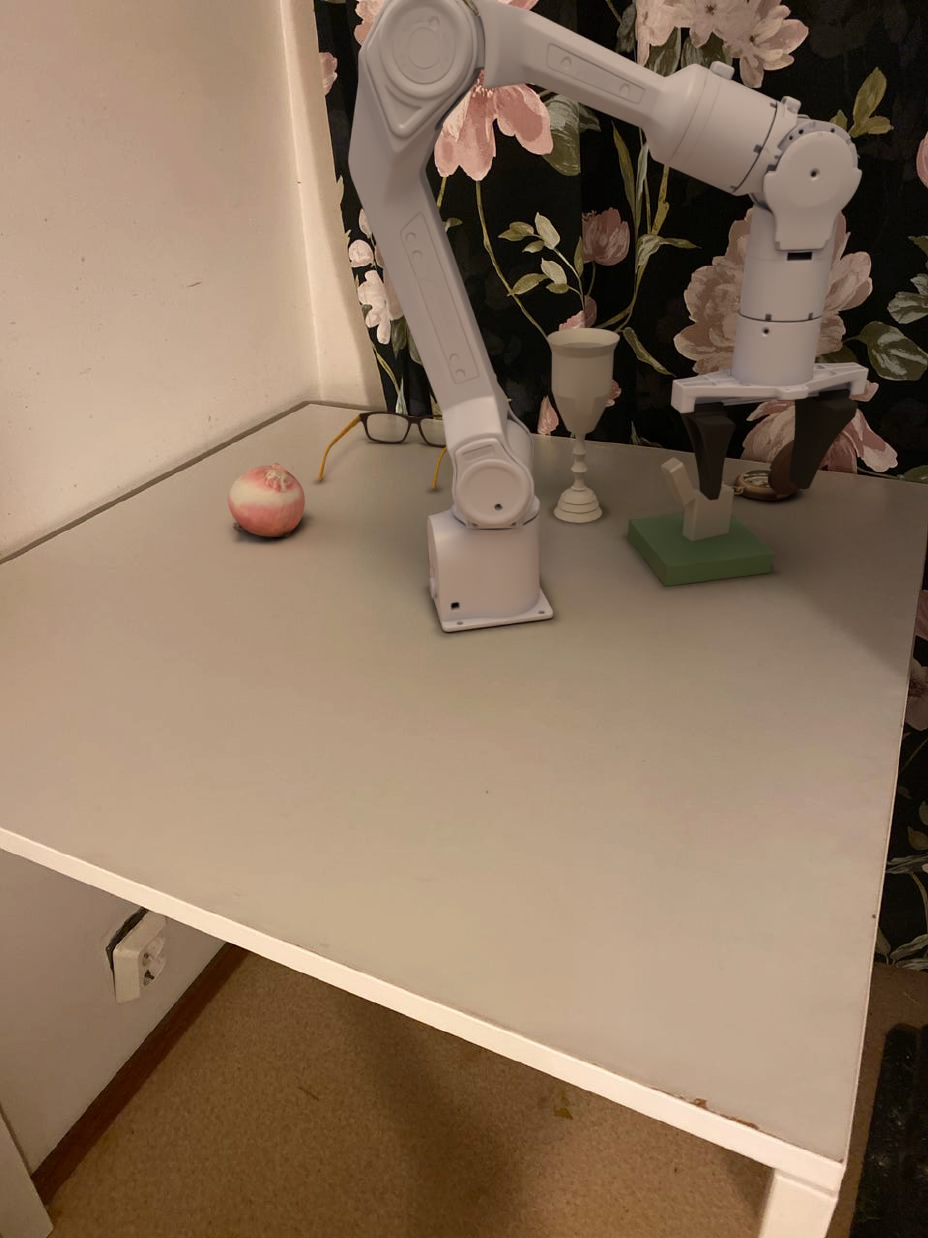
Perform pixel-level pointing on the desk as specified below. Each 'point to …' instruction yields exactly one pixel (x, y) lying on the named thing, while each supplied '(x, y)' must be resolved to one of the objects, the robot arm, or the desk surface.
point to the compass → (769, 479)
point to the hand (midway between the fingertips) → (754, 489)
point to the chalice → (581, 404)
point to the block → (697, 551)
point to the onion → (267, 501)
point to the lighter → (698, 504)
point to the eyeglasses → (363, 418)
